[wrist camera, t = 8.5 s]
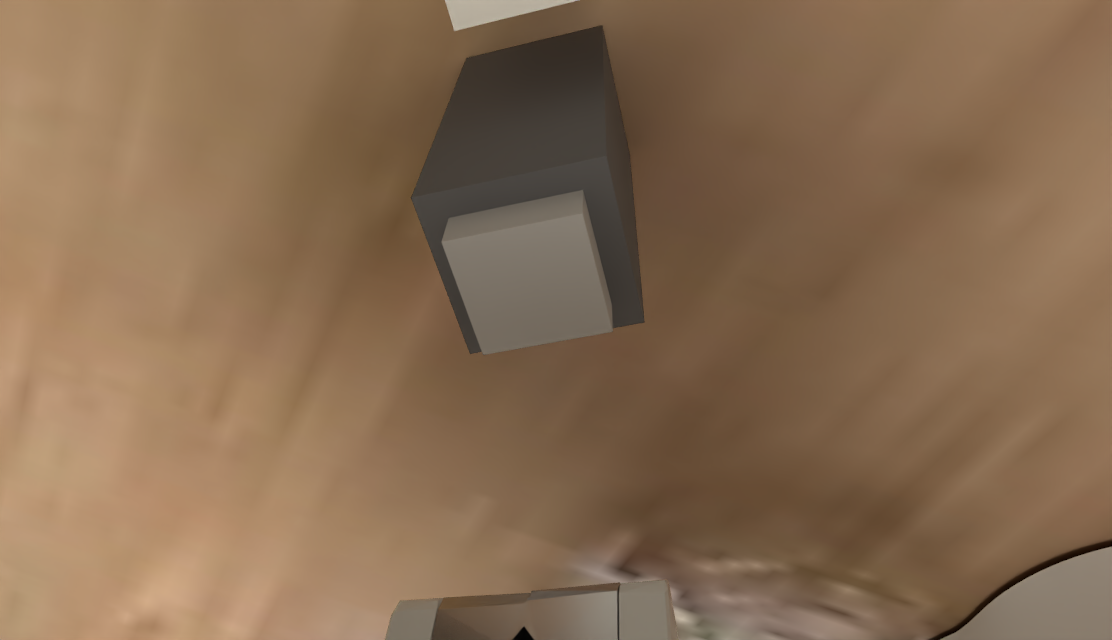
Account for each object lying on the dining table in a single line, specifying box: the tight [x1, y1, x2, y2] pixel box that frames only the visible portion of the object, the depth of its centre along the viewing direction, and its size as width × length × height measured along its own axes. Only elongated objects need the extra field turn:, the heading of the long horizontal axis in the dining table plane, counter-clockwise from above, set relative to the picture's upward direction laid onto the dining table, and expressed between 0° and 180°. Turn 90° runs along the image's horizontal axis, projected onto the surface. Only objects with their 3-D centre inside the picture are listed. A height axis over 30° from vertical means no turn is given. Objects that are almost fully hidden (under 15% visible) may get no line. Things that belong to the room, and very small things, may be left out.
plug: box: [411, 26, 644, 355], centre depth 21 cm, size 4×4×10 cm
